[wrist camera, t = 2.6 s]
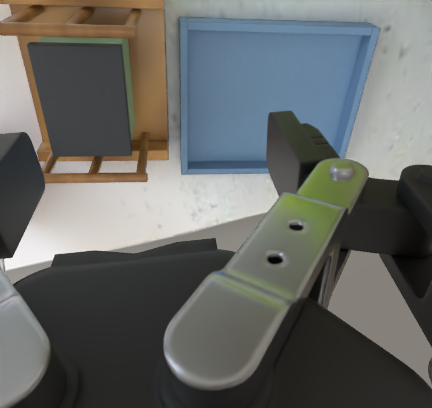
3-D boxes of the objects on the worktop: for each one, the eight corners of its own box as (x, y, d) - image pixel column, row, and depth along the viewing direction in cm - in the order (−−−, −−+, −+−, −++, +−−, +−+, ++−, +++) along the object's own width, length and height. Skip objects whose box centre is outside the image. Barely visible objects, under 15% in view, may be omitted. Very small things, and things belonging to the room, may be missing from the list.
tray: (180, 164, 37) (181, 174, 35) (179, 16, 29) (179, 21, 27) (333, 162, 38) (340, 172, 37) (369, 22, 31) (380, 27, 29)
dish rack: (48, 145, 34) (17, 198, 27) (8, -18, 27) (-48, -2, 20) (168, 145, 35) (168, 195, 28) (163, -12, 28) (161, 5, 21)
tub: (70, 123, 32) (52, 156, 27) (51, 25, 28) (26, 44, 23) (137, 123, 33) (131, 156, 28) (129, 27, 28) (120, 46, 23)
